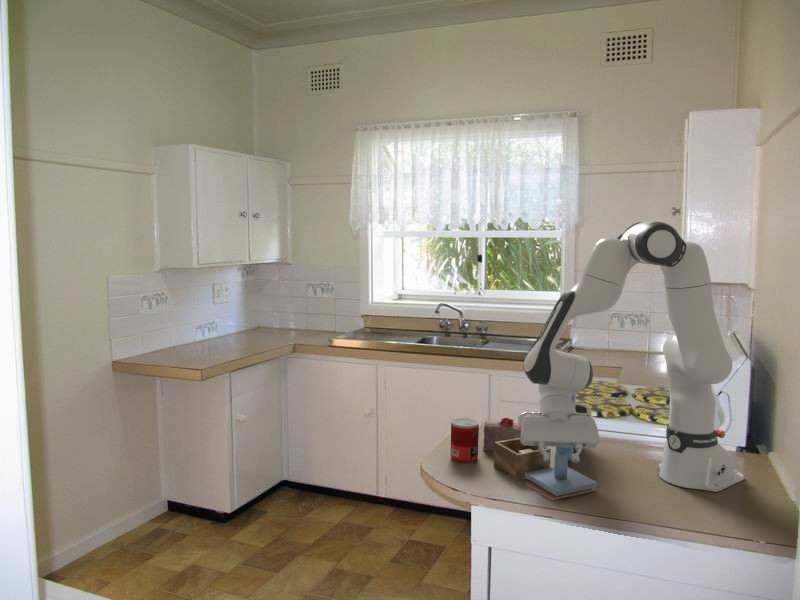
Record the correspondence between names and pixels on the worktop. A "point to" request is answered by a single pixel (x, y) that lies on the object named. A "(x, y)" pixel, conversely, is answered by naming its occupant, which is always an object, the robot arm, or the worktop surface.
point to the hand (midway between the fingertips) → (561, 461)
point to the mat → (552, 496)
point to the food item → (500, 432)
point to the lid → (561, 478)
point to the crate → (518, 458)
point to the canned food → (464, 440)
